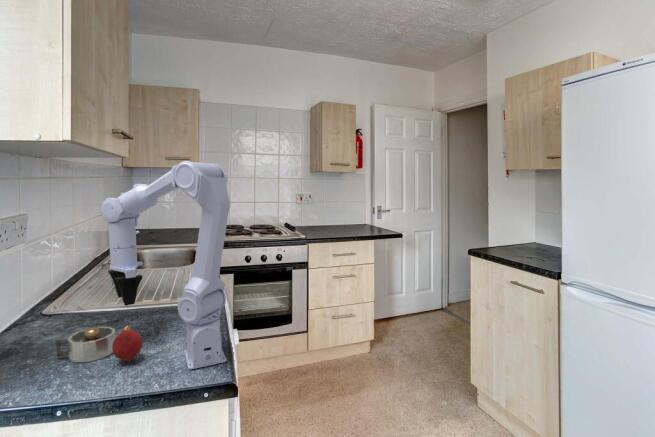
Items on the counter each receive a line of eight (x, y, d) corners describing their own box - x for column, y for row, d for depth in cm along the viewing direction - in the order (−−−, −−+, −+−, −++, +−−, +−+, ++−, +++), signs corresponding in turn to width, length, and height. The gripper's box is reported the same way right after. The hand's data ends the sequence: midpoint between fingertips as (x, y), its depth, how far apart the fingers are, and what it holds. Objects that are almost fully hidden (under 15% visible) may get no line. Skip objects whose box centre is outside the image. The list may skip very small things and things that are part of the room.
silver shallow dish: (114, 357, 81) (113, 338, 80) (53, 368, 76) (51, 348, 75) (117, 341, 89) (116, 324, 88) (62, 351, 84) (60, 332, 83)
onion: (139, 365, 77) (138, 330, 76) (109, 369, 75) (107, 333, 75) (145, 353, 82) (143, 320, 82) (117, 357, 81) (115, 323, 80)
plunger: (106, 351, 81) (105, 331, 81) (75, 356, 79) (73, 337, 78) (109, 340, 87) (108, 322, 86) (79, 345, 84) (78, 327, 83)
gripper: (148, 248, 84) (151, 304, 85) (134, 241, 95) (137, 290, 96) (114, 252, 80) (117, 311, 81) (103, 244, 91) (107, 295, 92)
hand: (126, 300), depth 88 cm, fingers open, 7 cm apart
